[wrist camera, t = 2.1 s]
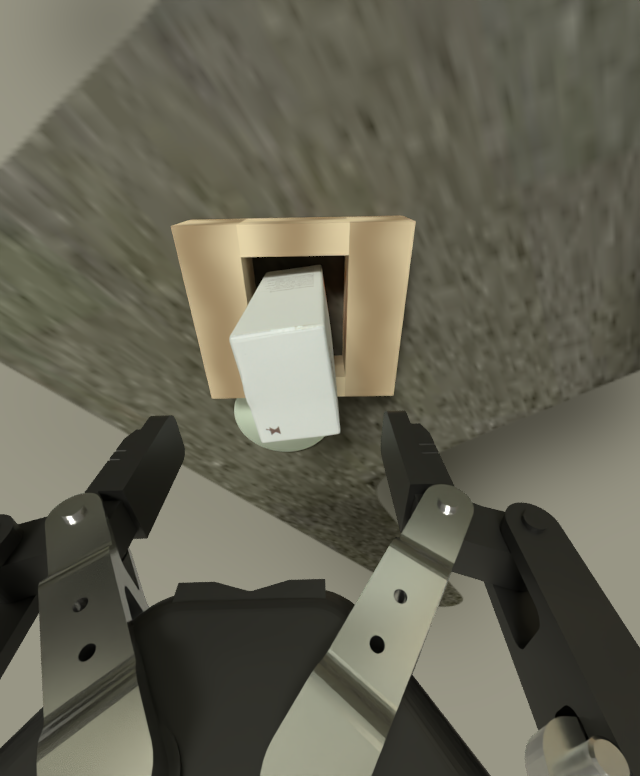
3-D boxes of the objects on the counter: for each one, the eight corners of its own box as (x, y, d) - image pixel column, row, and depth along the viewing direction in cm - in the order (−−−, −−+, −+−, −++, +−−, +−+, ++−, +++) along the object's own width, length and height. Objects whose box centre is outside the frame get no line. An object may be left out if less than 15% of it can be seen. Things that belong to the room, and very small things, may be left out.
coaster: (333, 368, 28) (333, 372, 27) (332, 446, 33) (332, 451, 32) (228, 370, 28) (226, 373, 27) (243, 448, 33) (242, 452, 32)
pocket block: (402, 215, 21) (415, 221, 18) (385, 372, 28) (393, 395, 25) (191, 219, 22) (170, 226, 19) (223, 375, 28) (212, 398, 25)
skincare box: (333, 338, 26) (342, 438, 16) (281, 345, 27) (258, 447, 16) (323, 260, 23) (326, 323, 13) (264, 269, 23) (222, 337, 13)
